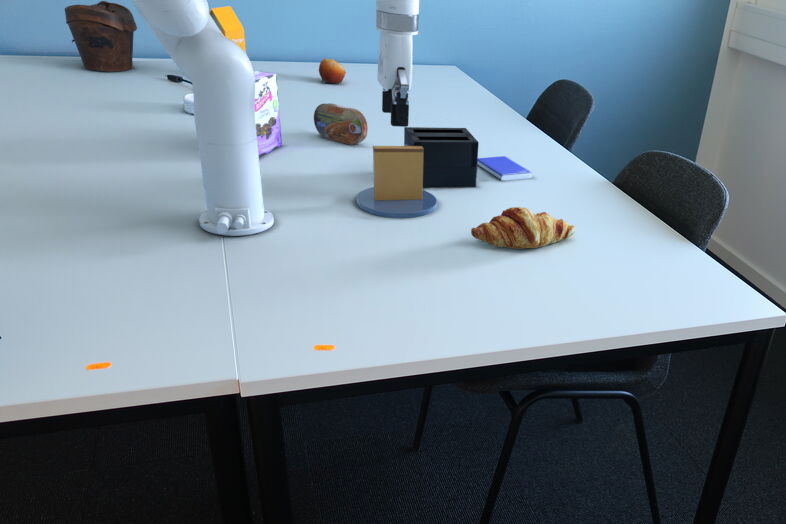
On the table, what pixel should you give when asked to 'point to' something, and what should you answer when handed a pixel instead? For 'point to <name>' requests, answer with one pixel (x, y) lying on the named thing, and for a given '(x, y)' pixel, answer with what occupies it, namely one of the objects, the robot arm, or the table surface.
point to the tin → (340, 123)
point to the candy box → (267, 112)
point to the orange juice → (229, 25)
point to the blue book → (504, 168)
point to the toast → (398, 172)
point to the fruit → (331, 71)
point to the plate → (396, 205)
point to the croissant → (522, 229)
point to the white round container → (189, 103)
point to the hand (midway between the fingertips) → (394, 119)
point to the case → (102, 35)
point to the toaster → (445, 155)
